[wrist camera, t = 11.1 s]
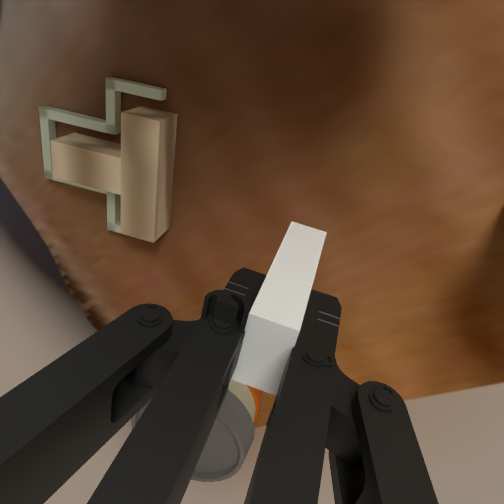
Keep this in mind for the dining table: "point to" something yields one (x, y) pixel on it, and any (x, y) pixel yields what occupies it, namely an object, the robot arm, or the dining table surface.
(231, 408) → the reusable coffee cup
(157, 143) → the t block
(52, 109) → the t outline
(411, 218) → the dining table surface
